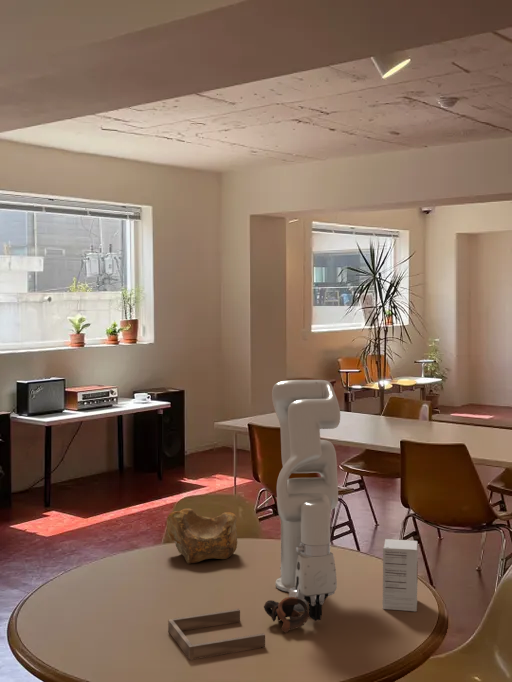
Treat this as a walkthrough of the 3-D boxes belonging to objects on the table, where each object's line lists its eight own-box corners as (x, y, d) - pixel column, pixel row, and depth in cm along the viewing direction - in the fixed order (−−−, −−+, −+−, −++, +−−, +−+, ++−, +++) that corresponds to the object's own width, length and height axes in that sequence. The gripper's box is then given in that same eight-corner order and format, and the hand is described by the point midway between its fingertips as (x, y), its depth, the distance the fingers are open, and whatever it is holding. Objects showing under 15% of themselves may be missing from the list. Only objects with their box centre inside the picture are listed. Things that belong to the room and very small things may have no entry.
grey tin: (286, 606, 229) (286, 588, 229) (302, 603, 231) (302, 586, 231) (293, 612, 225) (293, 594, 224) (310, 610, 226) (310, 592, 226)
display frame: (168, 631, 212) (168, 619, 212) (238, 620, 219) (238, 609, 219) (189, 659, 196) (189, 647, 195) (265, 647, 203) (265, 634, 202)
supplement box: (417, 612, 225) (417, 550, 224) (382, 609, 227) (382, 548, 226) (417, 599, 234) (418, 539, 233) (384, 597, 236) (384, 538, 235)
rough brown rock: (160, 569, 263) (161, 523, 261) (167, 548, 280) (168, 505, 278) (235, 571, 263) (236, 525, 261) (237, 551, 279) (238, 507, 277)
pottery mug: (309, 620, 220) (314, 599, 216) (300, 648, 213) (305, 627, 208) (266, 605, 223) (270, 584, 218) (255, 633, 215) (259, 611, 210)
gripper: (295, 556, 210) (295, 628, 211) (348, 549, 216) (347, 619, 217) (282, 548, 217) (282, 617, 218) (334, 541, 223) (334, 609, 224)
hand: (315, 618), depth 217 cm, fingers closed
